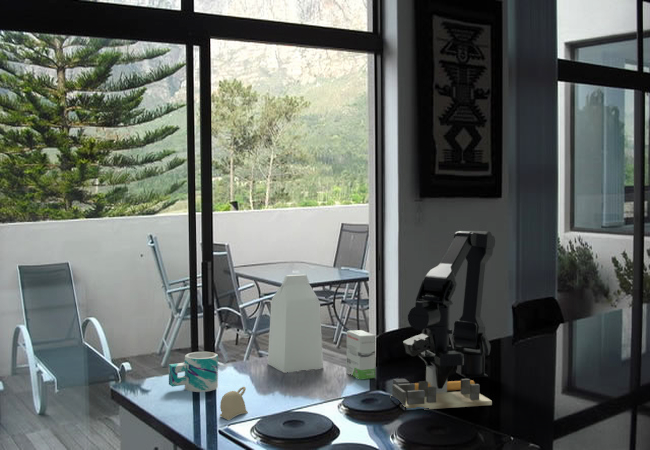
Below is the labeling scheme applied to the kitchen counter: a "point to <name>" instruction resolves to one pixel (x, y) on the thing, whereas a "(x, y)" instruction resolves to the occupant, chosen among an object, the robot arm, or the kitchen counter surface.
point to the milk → (295, 327)
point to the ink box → (360, 354)
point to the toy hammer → (434, 381)
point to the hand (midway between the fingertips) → (436, 386)
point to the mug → (196, 372)
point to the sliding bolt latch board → (439, 396)
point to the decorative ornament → (233, 404)
